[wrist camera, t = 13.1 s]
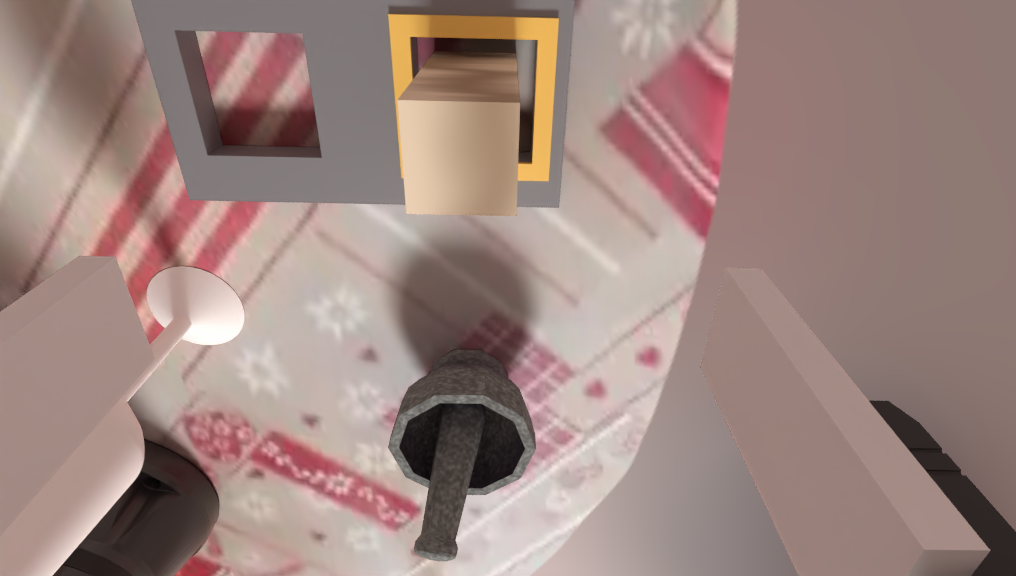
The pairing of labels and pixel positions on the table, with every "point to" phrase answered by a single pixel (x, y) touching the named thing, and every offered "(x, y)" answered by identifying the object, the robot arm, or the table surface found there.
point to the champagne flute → (116, 431)
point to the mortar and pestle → (460, 440)
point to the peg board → (347, 92)
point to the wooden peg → (461, 135)
